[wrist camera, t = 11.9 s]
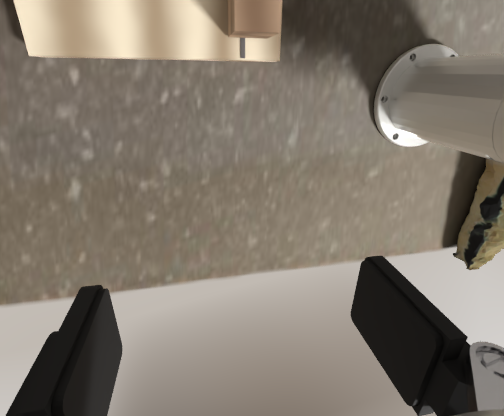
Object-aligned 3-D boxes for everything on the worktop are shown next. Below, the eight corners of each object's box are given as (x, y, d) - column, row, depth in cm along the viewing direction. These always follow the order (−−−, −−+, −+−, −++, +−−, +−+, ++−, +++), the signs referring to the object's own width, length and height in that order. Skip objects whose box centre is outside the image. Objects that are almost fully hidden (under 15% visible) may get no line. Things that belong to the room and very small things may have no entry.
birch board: (276, -36, 30) (284, -47, 27) (272, 61, 34) (279, 60, 31) (14, -58, 26) (-8, -73, 23) (43, 57, 29) (28, 55, 27)
